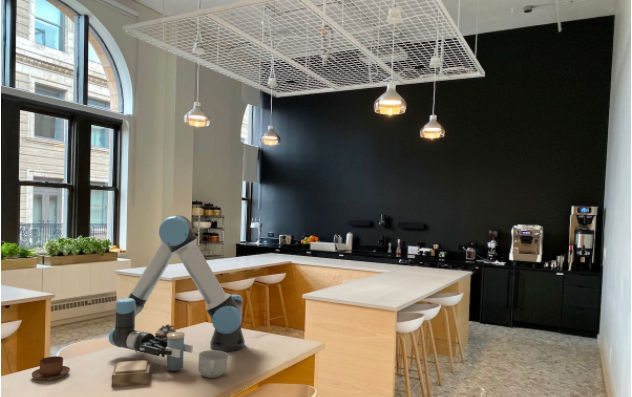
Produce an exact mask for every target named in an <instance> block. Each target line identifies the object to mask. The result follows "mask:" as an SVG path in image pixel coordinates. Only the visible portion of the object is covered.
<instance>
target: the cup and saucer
mask: <svg viewBox="0 0 632 397" xmlns="http://www.w3.org/2000/svg"><path fill="white" fill-rule="evenodd" d="M63 364H64V358H63V357H62V356H59V355H58V356H57V355H56V356H55V355H54V356H52V355H51V356H47V357H44V358H43V357H42V358H41V359H40V360H39V368H38V369H36V370H34V371H32V372H31V377H32V378H33V379H35V380H38V381H51V380H52V381H53V380H57V379H60V378H63V377H65V376H66V375H68V373H70V371H71V368H70V367H69V366H66V365H63Z"/></svg>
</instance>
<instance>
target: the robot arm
mask: <svg viewBox="0 0 632 397" xmlns="http://www.w3.org/2000/svg"><path fill="white" fill-rule="evenodd" d="M158 235H159V238H160V244H159V246H158V247H157V249H156V251H155V252H154V254H153V256H152V258H151V259H150V260H149V262H148V264H147V265H146V267H145V269H144V271H142V274H141V275H140V277H139V279H138V280H137V282H136V284H135V285H134V287H133V289H132V290H131V293H130V294H129V295H128V297H127V298H125V297H124V298H120V299H117V300H116V301H115V308H114V312H115V313H114V314H115V317H114V318H115V319H114V321H115V322H114V327H113V328H112V329H111V330H110V331H109V335H108V342H109V344H111V345H112V346H115V347H117V348H123V349H127V350H128V349H129V350H131V351H134V352H139V353H144V354H148V355H152V356H155V357H160V356H161V358H164V357H165V356H167V355H168V356H173V357H177V358H179V357H180V350H178V349H174V348H169V347H167V337H164V339H159V338H155V334H153V333H150V332H146V331H141V330H138V329H137V330H135V328H136V327H135V325H136V316H138V315H139V313H141V312H142V311H143V309H144V307H145V304H146V303H147V301H148V299H149V297H150V296H151V294H152V292H153V291H154V289H155V288H156V286H157V284H158V283H159V281H160V279H161V277H162V275H163V274H164V273H165V272H166V269H167V268H168V266H169V264H170V263H171V262H172V259H173V258H174V255H176V256H178V258H179V260H180V261H181V263H182V264H183V266H184V268H185V270H186V271H187V273H188V275H189V277H190V278H191V280H192V281H193V283H194V284H195V287H196V288H197V290H198V291H199V293H200V294H201V297H202V299H203V300H204V301H205V303H206V307H205V310H206V312H207V314H208V316H209V318H210V319H211V323H212V326H213V328H214V331H213V334H212V336H211V340H210V345H209V346H210V349H212V350H217V351H223V352H234V351H239V350H242V349H243V348H244V347H245V344H246V343H245V338H244V335H243V330H242V321H243V317H242V315H243V302H244V301H243V297H242V296H241V295H239V294H230V293H228V292H225V290H224V288H223V287H222V285H221V284H220V281H219V279H218V278H217V276H216V275H215V273H214V272H213V270H212V268H211V267H210V265H209V264H208V262H207V260H206V258H205V256H204V255H203V253H202V252H201V249H200V248H199V247H198V245H197V242H198V237H197V235H196V233H195V232H194V230H193V225H192V222H191V221H190V219H189V218H187V217H186V216H184V215H170V216H169V217H166V218H165V219H164V220H163V221H162V222H161V223H160V225H159V229H158ZM193 347H194V346H193V344H189V343H185V342H184V352H186V353H193V351H194V350H193ZM165 348H166V349H165Z"/></svg>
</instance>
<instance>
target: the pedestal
mask: <svg viewBox="0 0 632 397" xmlns="http://www.w3.org/2000/svg"><path fill="white" fill-rule="evenodd" d="M150 374H151V360H148V359H143V360H142V359H141V360H127V361H125V360H124V361H118V362H115V365H114V367H113V370H112V374H111V384H110V385H111V388H113V387H114V388H115V387H125V386H126V387H127V386H139V385H149V382H150Z"/></svg>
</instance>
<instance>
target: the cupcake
mask: <svg viewBox="0 0 632 397" xmlns="http://www.w3.org/2000/svg"><path fill="white" fill-rule="evenodd" d="M171 332H177V331H176V329H175V326H174V325H170V324H169V323H168V324H166V325H161V326H160V328H159V327H158V330H157V331H156V332H154V333H155V334H154V337H155V338H159V339H164V337H167V334H168V333H171ZM165 349H166V348H165Z"/></svg>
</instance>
